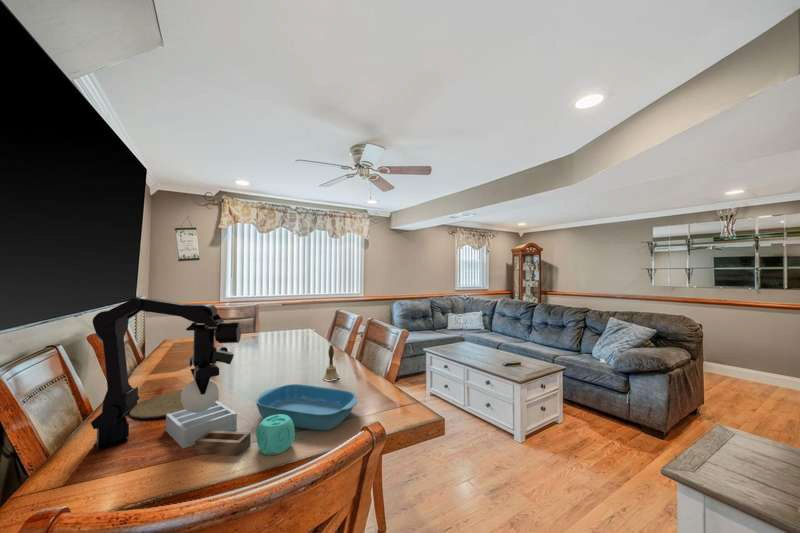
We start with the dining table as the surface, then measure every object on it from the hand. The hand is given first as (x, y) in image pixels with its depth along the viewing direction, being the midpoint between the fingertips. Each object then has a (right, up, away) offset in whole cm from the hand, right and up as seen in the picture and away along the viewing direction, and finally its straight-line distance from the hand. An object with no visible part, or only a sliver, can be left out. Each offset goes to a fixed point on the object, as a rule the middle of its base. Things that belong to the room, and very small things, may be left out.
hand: (202, 392), depth 101 cm
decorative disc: (-23, -14, +22) cm, 35 cm away
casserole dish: (+30, -14, +12) cm, 35 cm away
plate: (0, -1, 0) cm, 1 cm away
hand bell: (+30, -14, +52) cm, 62 cm away
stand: (+12, -13, -9) cm, 19 cm away
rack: (-1, -13, +2) cm, 13 cm away
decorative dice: (+27, -13, -8) cm, 31 cm away
